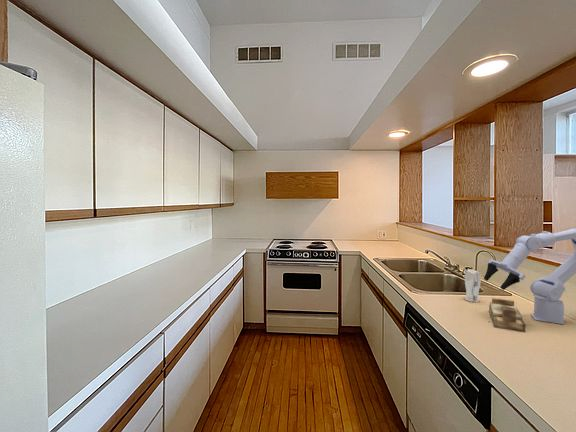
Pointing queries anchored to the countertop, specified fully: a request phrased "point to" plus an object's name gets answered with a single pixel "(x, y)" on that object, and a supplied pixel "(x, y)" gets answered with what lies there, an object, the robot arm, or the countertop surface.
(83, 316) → the countertop surface
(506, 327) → the brown divided tray
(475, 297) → the beer glass
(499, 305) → the lid
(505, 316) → the block
